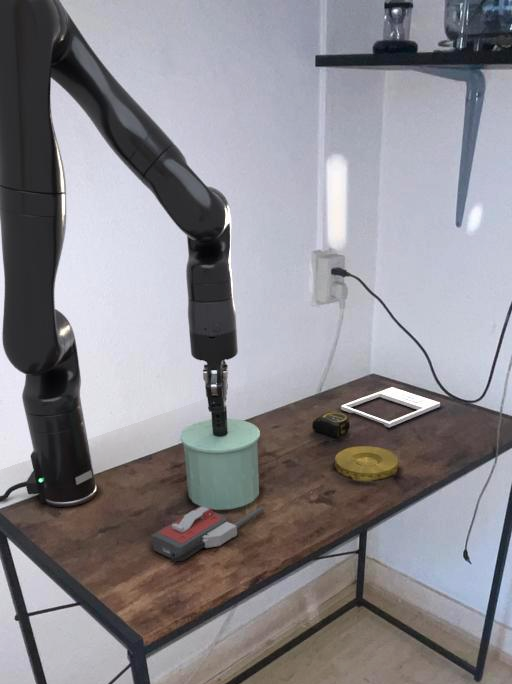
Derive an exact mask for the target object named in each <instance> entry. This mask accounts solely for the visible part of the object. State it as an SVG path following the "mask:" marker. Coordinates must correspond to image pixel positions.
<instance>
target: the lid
mask: <svg viewBox="0 0 512 684" xmlns="http://www.w3.org/2000/svg"><path fill="white" fill-rule="evenodd" d="M225 406H226V407H227V405H226V404H225ZM227 413H228V410H227V408H226V409H225V424H226V429H225V431H223V432H214V431H213V429H212V419H207V420H206V419H205V420H203V421H198V422H195V423H193V424H191V425H189V426H187V427H185V428H184V429H183V431H182V432H181V433H180V440H181V441H180V442H181V443H182V445H183V446H184V445H185V446H186V447H188V448H190V449H193V450H196V451H200V452H207V453H225V452H232V451H237V450H241V449H244V448H247V447H249V446H251V445H253V444H254V443H255V442H257V443H258V440H259V439H260V436H261V431H260V429H259V428H258V426H257V425H255V424H254V423H252V422H249V421H247V420H242V419H237V418H236V419H235V418H228V414H227Z"/></svg>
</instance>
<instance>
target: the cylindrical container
mask: <svg viewBox="0 0 512 684" xmlns="http://www.w3.org/2000/svg"><path fill="white" fill-rule="evenodd" d="M258 450H259V449H258V441H257V442H255V443H254V444H253V445H251V446H249V447H247V448H244V449H241V450H237V451H232V452H225V453H207V452H200V451H196V450H193V449H190V448H188V447H186V446H185V445H184V444H183V451H184V453H183V454H184V462H185V473H186V481H187V482H186V483H187V490H188V491H187V493H188V498H189V499H190V500H191V502H192V503H194V505H197V506H198V507H200V506H203V507H205V508H208V509H211V510H216V511H217V510H218V511H219V510H232V509H236V508H241V507H245V506H246V505H249V504H250V503H252V502H254V501H255V500H256V499H257V497H258V496H259V495H260V479H259V478H260V477H259V453H258V452H259V451H258Z"/></svg>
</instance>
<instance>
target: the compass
mask: <svg viewBox="0 0 512 684" xmlns="http://www.w3.org/2000/svg"><path fill="white" fill-rule="evenodd" d="M334 458H335V459H334V468H335V470H336V471H337V472H338V473H340V474H341V475H342V476H344V477H347V478H351V479H352V480H354V481H359V482H373V481H377V480H384V479H387V478H389V477H392V476H394V475H396V474H397V472H398V469H399V458H398V456H397V455H396V454H395V453H394V452H392V451H391V450H388V449H386V448H382V447H378V446H371V445H358V446H351V447H347V448H345V449H342V450H341V451H338V452H337V454H336V455H335V456H334Z"/></svg>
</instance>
